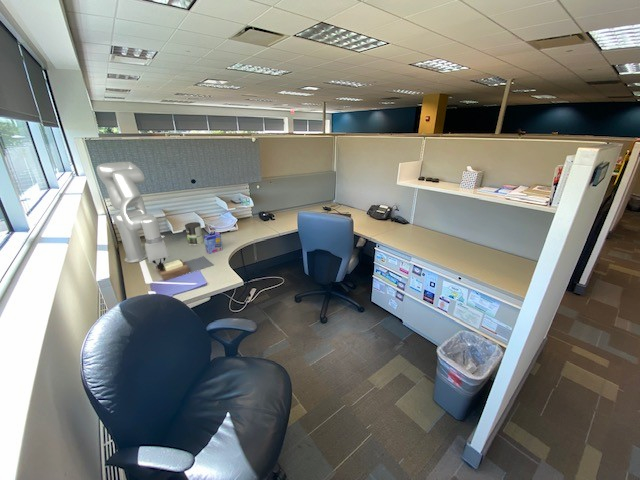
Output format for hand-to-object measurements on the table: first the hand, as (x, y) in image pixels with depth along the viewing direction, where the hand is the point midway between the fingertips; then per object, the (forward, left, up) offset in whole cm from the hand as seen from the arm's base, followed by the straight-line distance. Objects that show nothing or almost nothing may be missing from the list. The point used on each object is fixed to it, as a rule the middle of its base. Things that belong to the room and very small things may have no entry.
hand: (161, 269), depth 156 cm
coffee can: (-35, +32, -4) cm, 47 cm away
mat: (0, +20, -4) cm, 20 cm away
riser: (0, +6, -4) cm, 7 cm away
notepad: (0, +6, -1) cm, 6 cm away
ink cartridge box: (-12, +36, -4) cm, 38 cm away
